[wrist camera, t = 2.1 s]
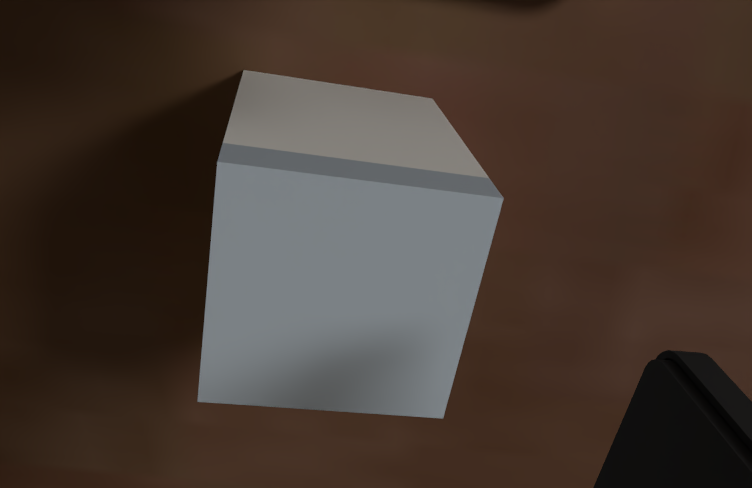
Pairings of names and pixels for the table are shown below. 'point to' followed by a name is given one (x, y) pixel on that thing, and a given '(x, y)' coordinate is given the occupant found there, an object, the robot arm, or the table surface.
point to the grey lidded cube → (341, 250)
